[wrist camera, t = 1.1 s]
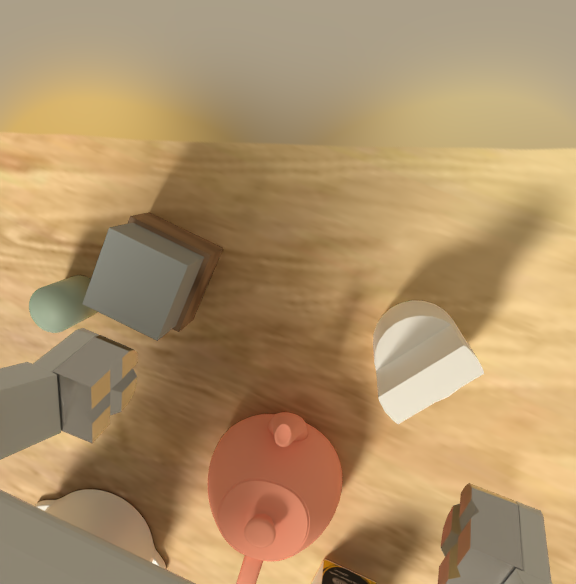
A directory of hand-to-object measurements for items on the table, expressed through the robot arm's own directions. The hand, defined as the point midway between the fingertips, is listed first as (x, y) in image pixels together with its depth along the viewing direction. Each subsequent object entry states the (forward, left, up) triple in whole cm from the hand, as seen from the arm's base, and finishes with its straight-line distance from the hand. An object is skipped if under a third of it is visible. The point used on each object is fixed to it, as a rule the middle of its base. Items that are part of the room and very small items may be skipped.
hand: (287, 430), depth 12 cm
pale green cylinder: (-20, +24, -43) cm, 53 cm away
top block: (-12, +15, -38) cm, 43 cm away
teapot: (-27, -5, -43) cm, 51 cm away
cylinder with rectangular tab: (-7, -12, -43) cm, 45 cm away
